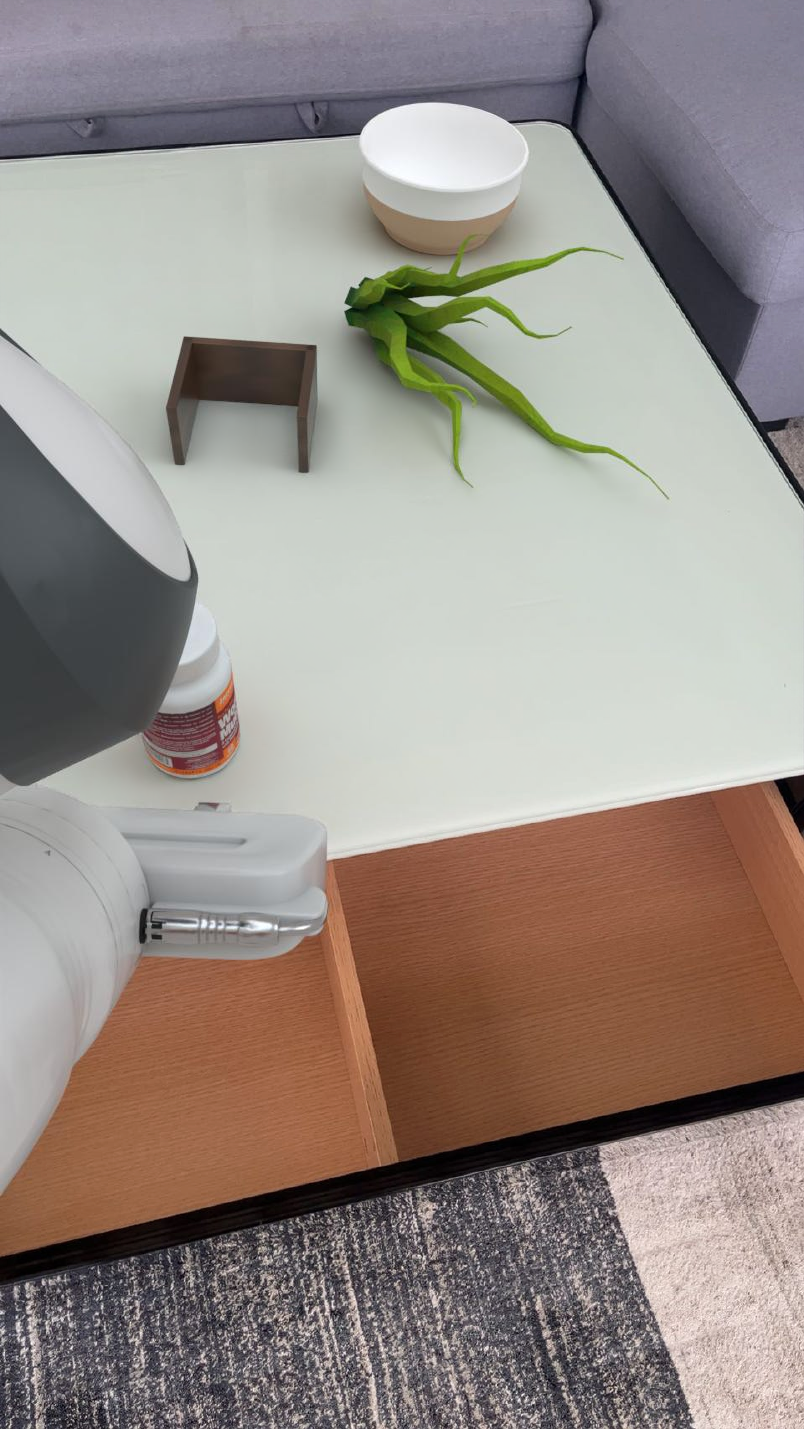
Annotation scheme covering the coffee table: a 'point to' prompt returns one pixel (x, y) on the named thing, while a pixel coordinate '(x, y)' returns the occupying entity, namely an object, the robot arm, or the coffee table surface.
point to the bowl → (441, 174)
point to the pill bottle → (197, 707)
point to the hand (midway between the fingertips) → (111, 814)
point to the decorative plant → (415, 327)
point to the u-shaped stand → (243, 384)
